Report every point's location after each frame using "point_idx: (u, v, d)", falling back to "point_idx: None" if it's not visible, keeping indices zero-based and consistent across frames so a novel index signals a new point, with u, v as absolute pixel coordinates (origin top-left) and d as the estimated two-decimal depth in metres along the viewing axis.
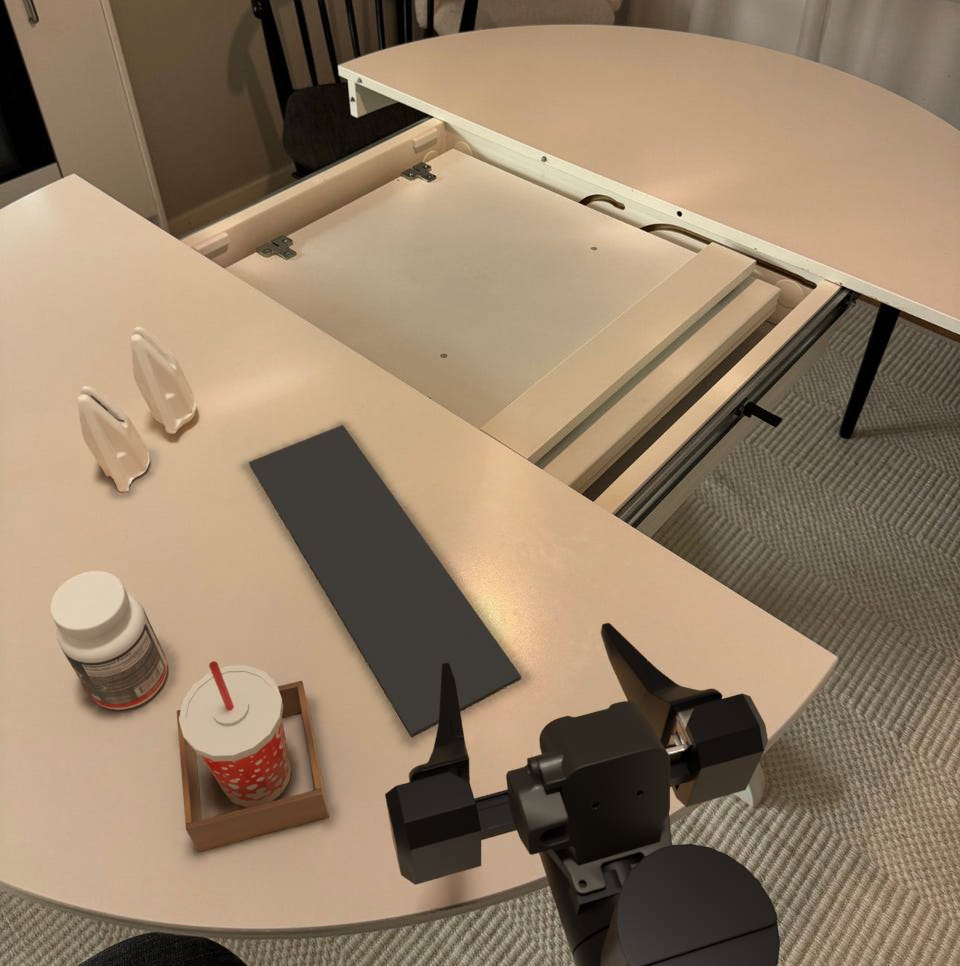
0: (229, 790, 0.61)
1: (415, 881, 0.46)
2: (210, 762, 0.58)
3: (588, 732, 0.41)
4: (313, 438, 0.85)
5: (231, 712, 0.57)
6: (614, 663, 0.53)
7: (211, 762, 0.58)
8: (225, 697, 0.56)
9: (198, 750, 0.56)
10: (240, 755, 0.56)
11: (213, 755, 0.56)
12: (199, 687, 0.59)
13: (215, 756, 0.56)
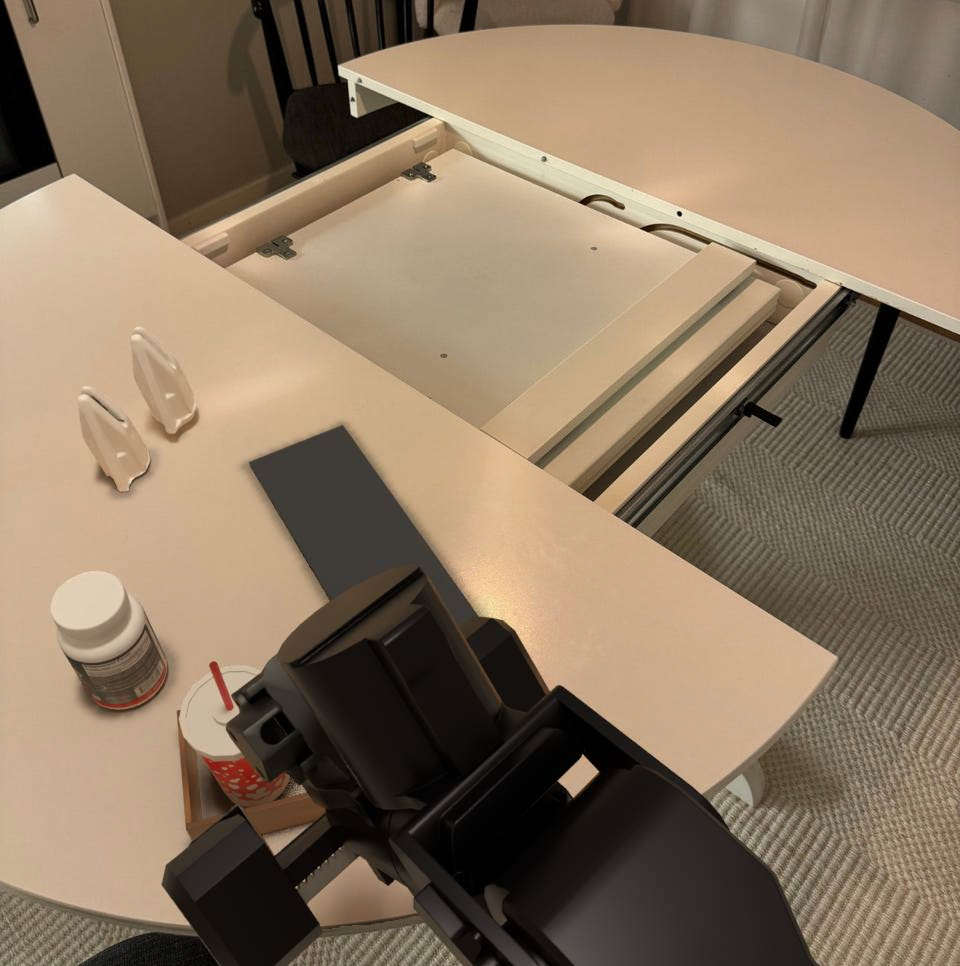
0: (229, 790, 0.61)
1: None
2: (210, 762, 0.58)
3: None
4: (313, 438, 0.85)
5: (231, 712, 0.57)
6: None
7: (211, 762, 0.58)
8: (225, 697, 0.56)
9: (198, 750, 0.56)
10: (240, 755, 0.56)
11: (213, 755, 0.56)
12: (199, 687, 0.59)
13: (215, 756, 0.56)
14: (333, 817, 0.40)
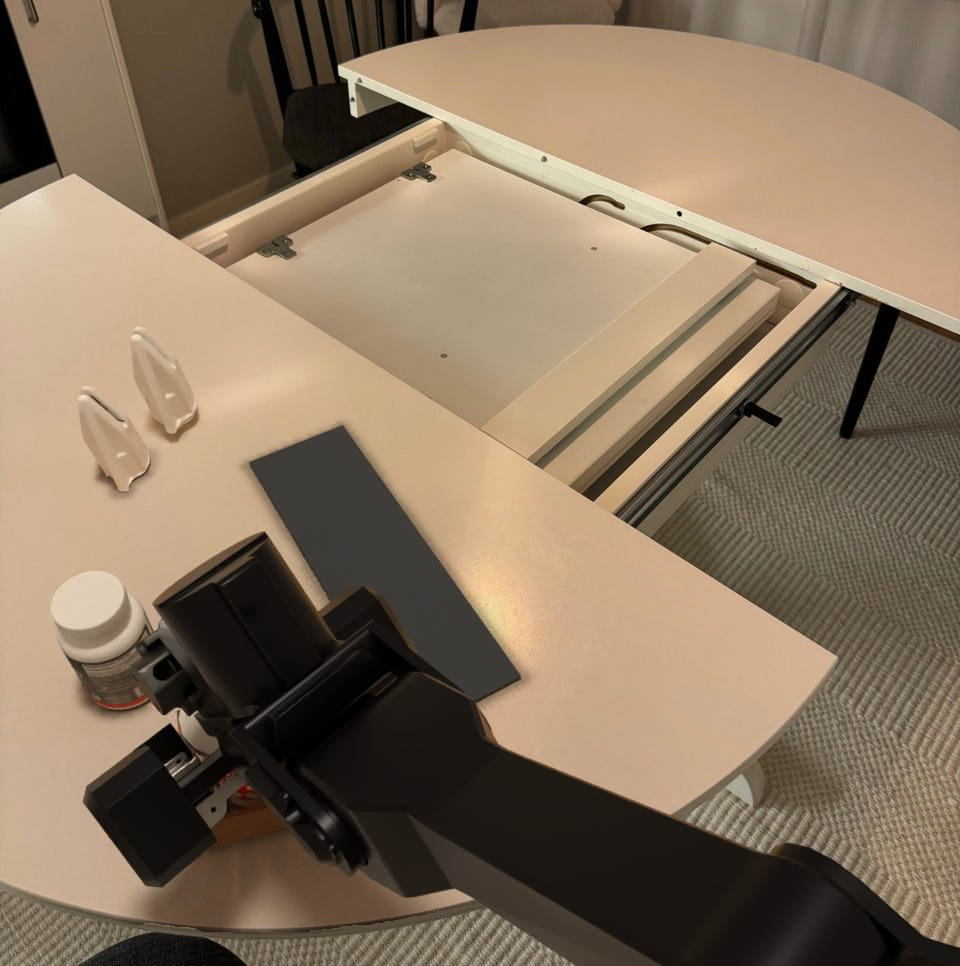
0: None
1: (151, 871, 0.47)
2: None
3: None
4: (313, 438, 0.85)
5: None
6: None
7: None
8: None
9: (198, 750, 0.56)
10: None
11: None
12: None
13: None
14: (223, 746, 0.50)
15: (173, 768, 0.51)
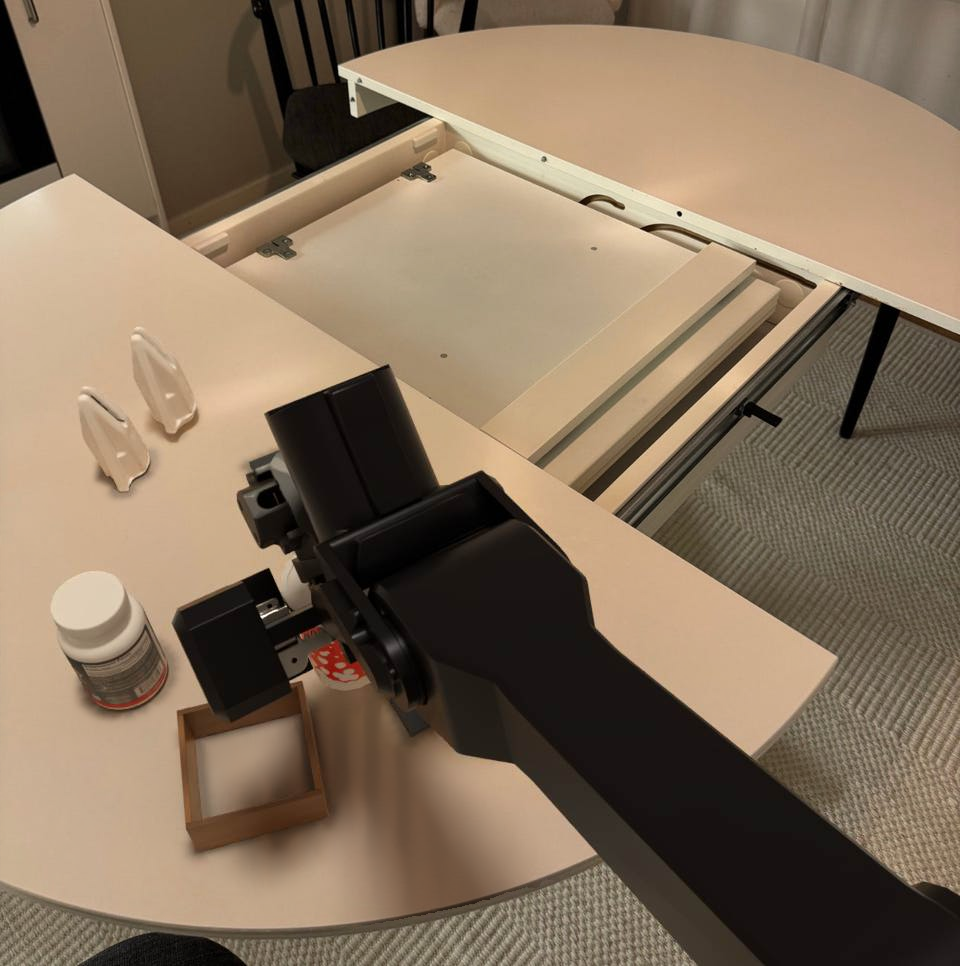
0: (318, 665, 0.60)
1: (222, 702, 0.47)
2: None
3: None
4: None
5: None
6: None
7: None
8: None
9: (293, 610, 0.55)
10: None
11: None
12: None
13: None
14: (314, 596, 0.48)
15: (263, 612, 0.50)
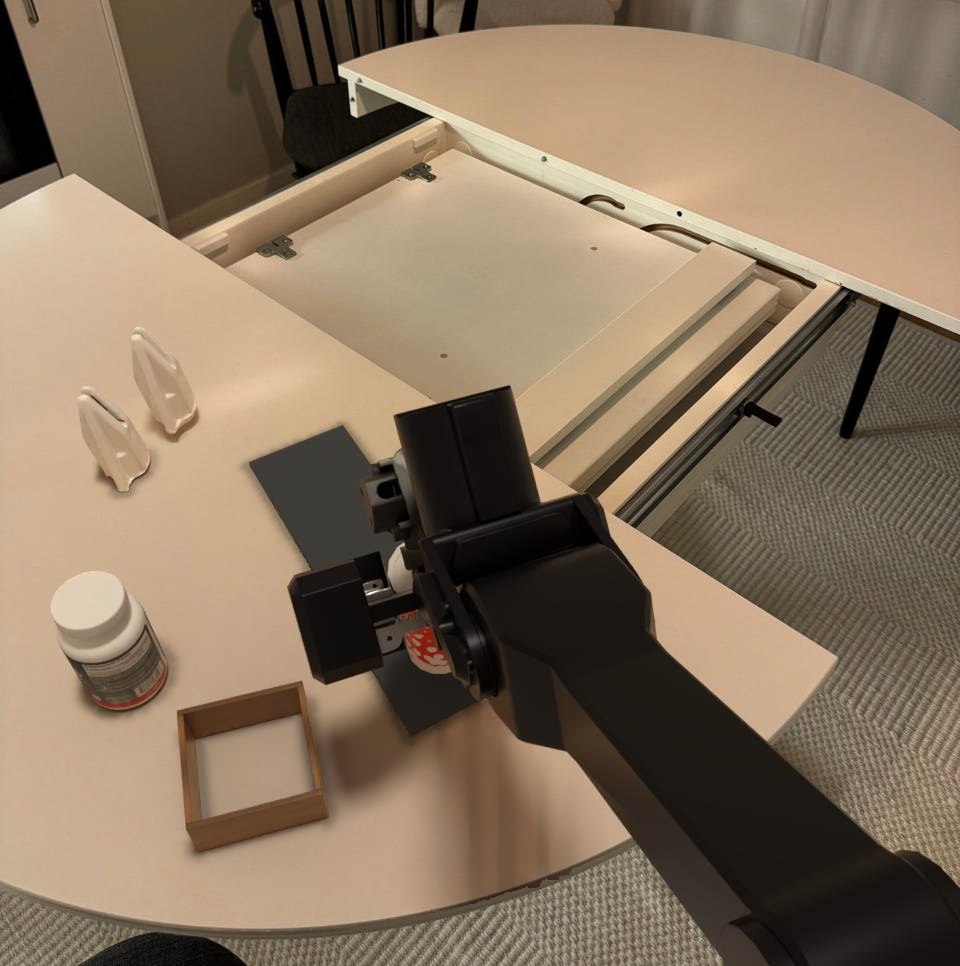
0: (411, 646, 0.65)
1: (321, 665, 0.52)
2: None
3: None
4: (313, 438, 0.85)
5: None
6: None
7: None
8: None
9: (395, 592, 0.60)
10: None
11: None
12: None
13: None
14: (415, 583, 0.53)
15: (368, 590, 0.55)
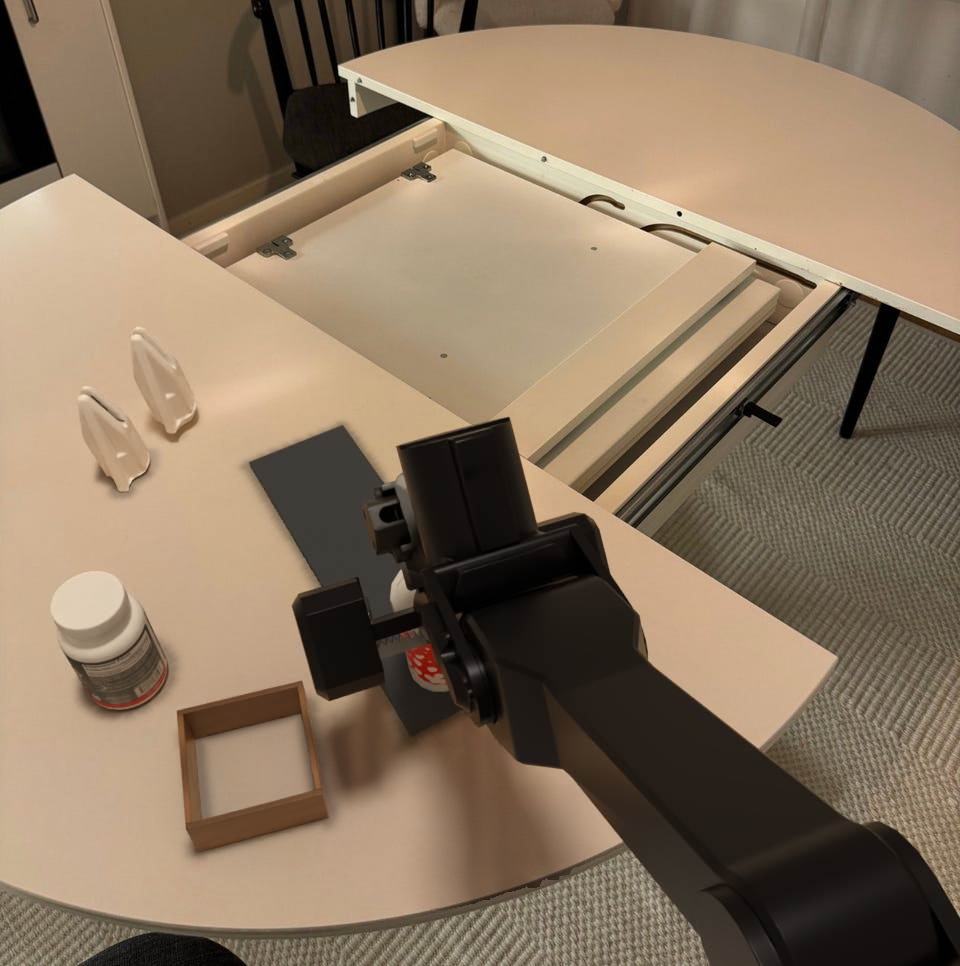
0: (413, 665, 0.67)
1: (325, 682, 0.53)
2: None
3: None
4: (313, 438, 0.85)
5: None
6: None
7: None
8: None
9: None
10: None
11: None
12: None
13: None
14: (416, 603, 0.55)
15: None
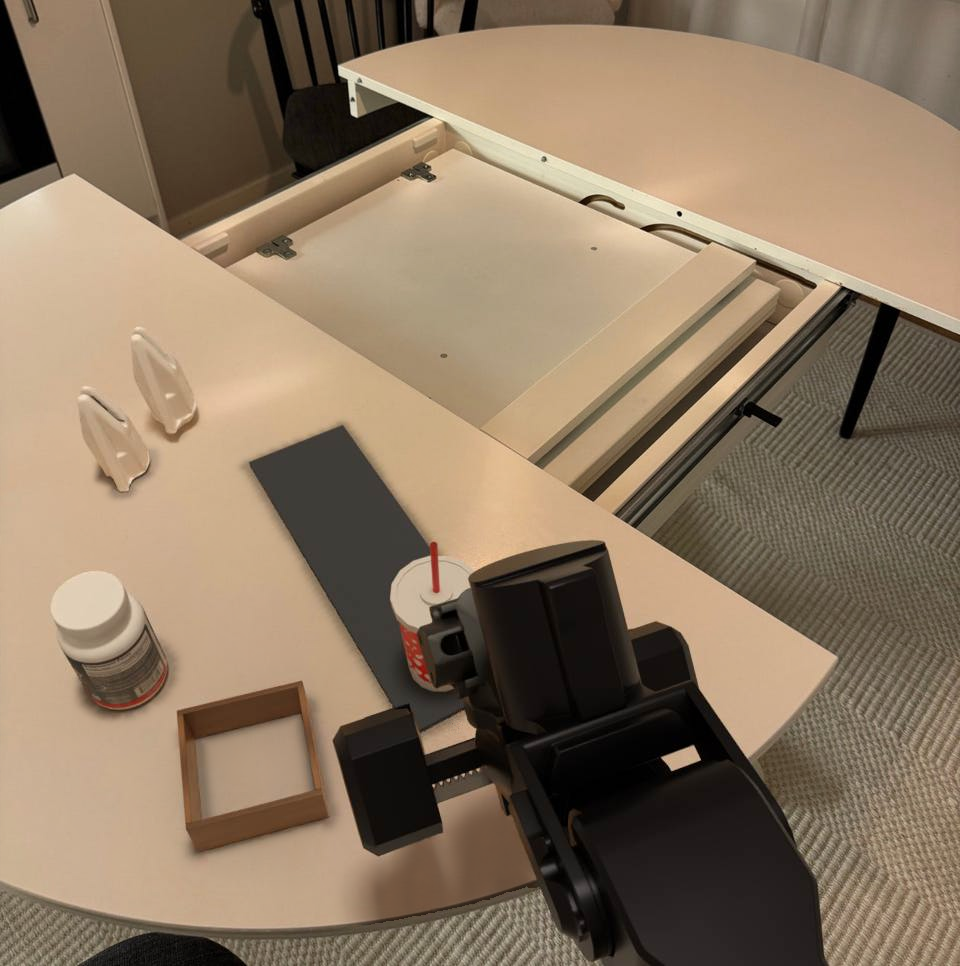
0: (413, 665, 0.67)
1: (374, 837, 0.45)
2: (404, 631, 0.64)
3: None
4: (313, 438, 0.85)
5: (435, 594, 0.63)
6: None
7: (405, 631, 0.63)
8: (435, 579, 0.62)
9: (398, 615, 0.62)
10: None
11: (408, 624, 0.61)
12: (417, 564, 0.65)
13: (409, 625, 0.61)
14: (479, 740, 0.46)
15: None
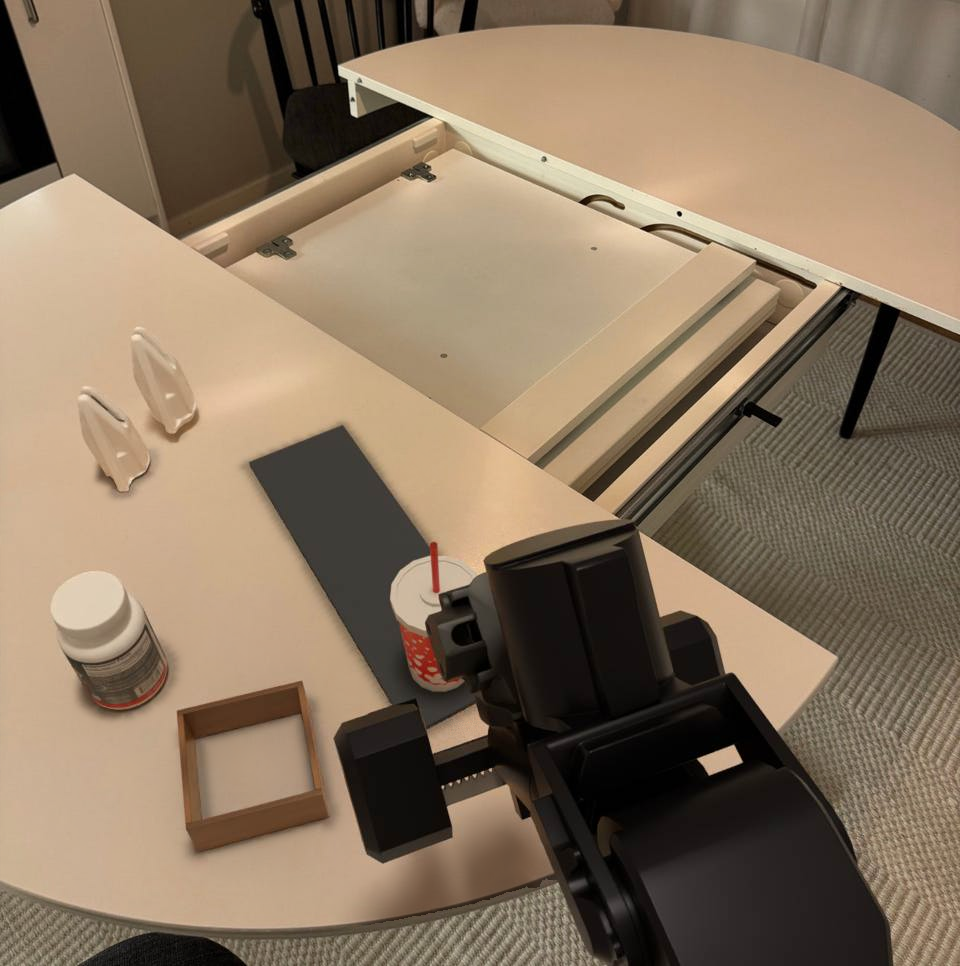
0: (413, 665, 0.67)
1: (378, 843, 0.42)
2: (404, 631, 0.64)
3: None
4: (313, 438, 0.85)
5: (435, 594, 0.63)
6: None
7: (405, 631, 0.63)
8: (435, 579, 0.62)
9: (398, 615, 0.62)
10: None
11: (408, 624, 0.61)
12: (417, 564, 0.65)
13: (409, 626, 0.61)
14: (492, 737, 0.43)
15: None
